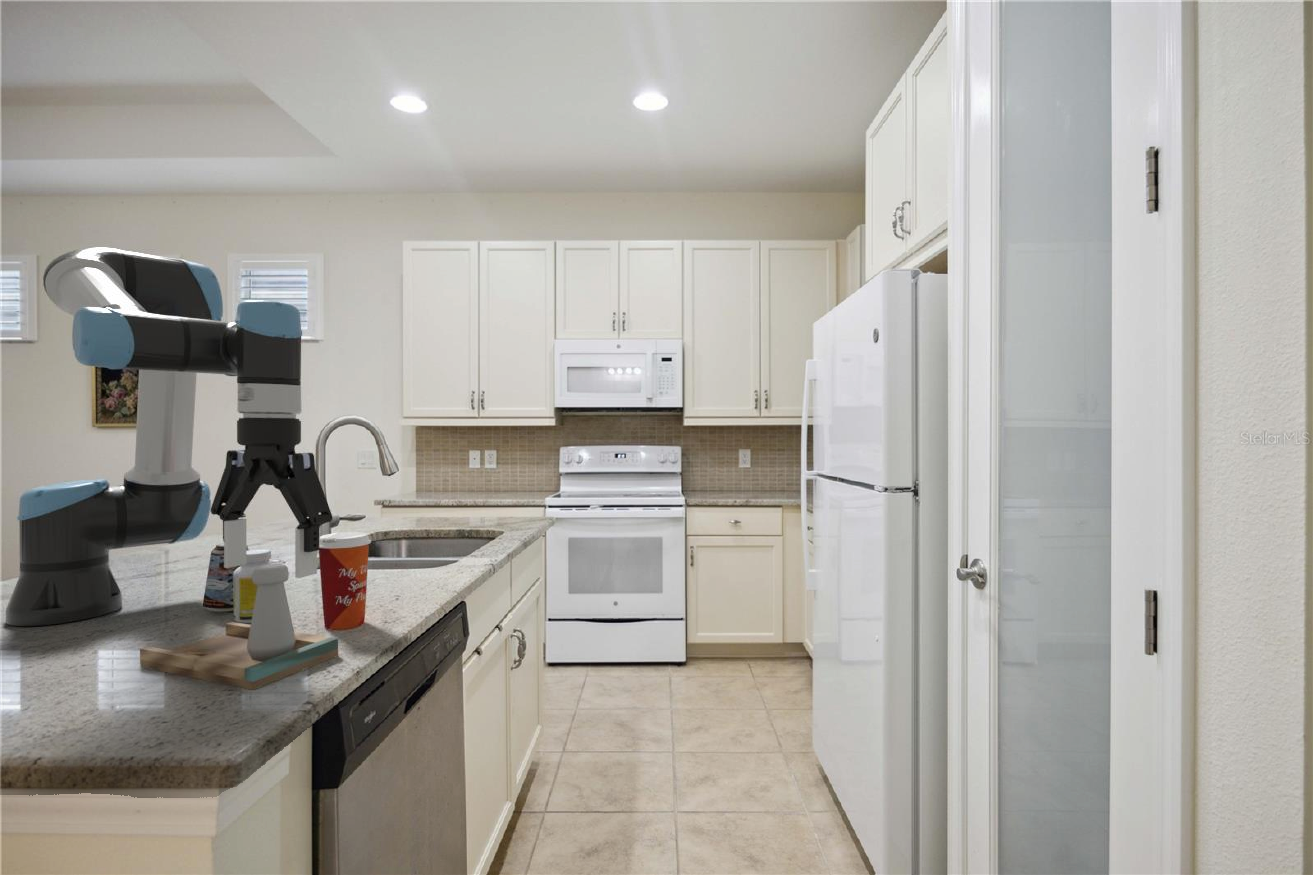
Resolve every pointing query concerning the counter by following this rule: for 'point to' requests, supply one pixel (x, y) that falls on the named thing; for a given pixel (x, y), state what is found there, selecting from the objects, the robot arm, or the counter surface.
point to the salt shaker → (270, 615)
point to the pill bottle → (247, 584)
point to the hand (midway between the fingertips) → (269, 570)
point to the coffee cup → (344, 578)
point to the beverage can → (219, 582)
